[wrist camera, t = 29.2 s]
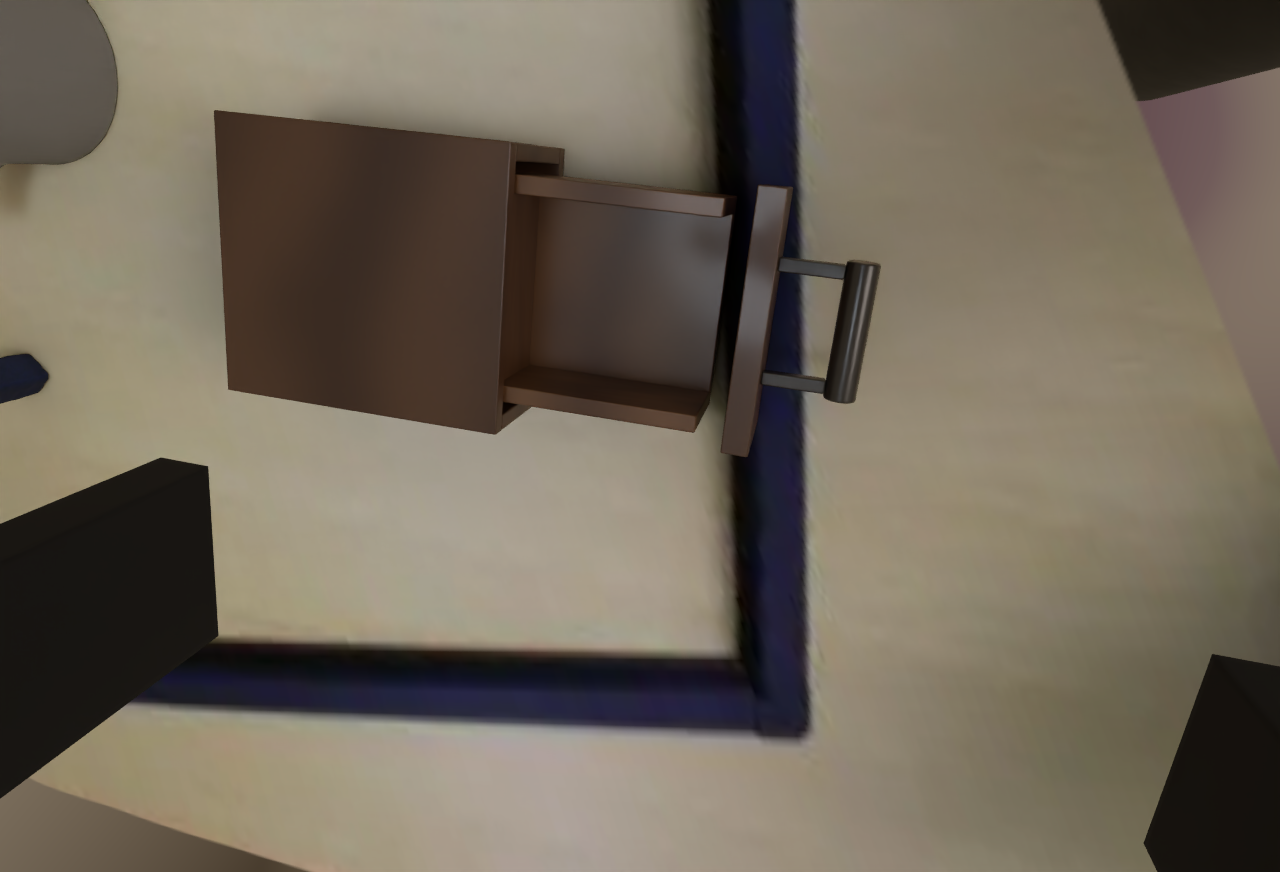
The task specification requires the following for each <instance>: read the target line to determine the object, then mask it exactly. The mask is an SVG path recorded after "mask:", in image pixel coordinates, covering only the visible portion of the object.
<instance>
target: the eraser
mask: <svg viewBox="0 0 1280 872" xmlns="http://www.w3.org/2000/svg"><path fill="white" fill-rule="evenodd" d="M47 380H48V373H47V372H46V371H45V370H44V369H43V368H42V367H41V365H40V364H39V363H38V362H37V361H36V360H35V359H34V358H33V357H32V356H31V355H29V354H20V355H12V356H6V357H2V358H0V404H1V403H4V402H8V401H12V400H17V399H20V398H23V397H26V396H29V395H32V394H36V393H38V392H39V391H40V390H41V389H42V388H43V386H44V384H45V382H46V381H47Z"/></svg>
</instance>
